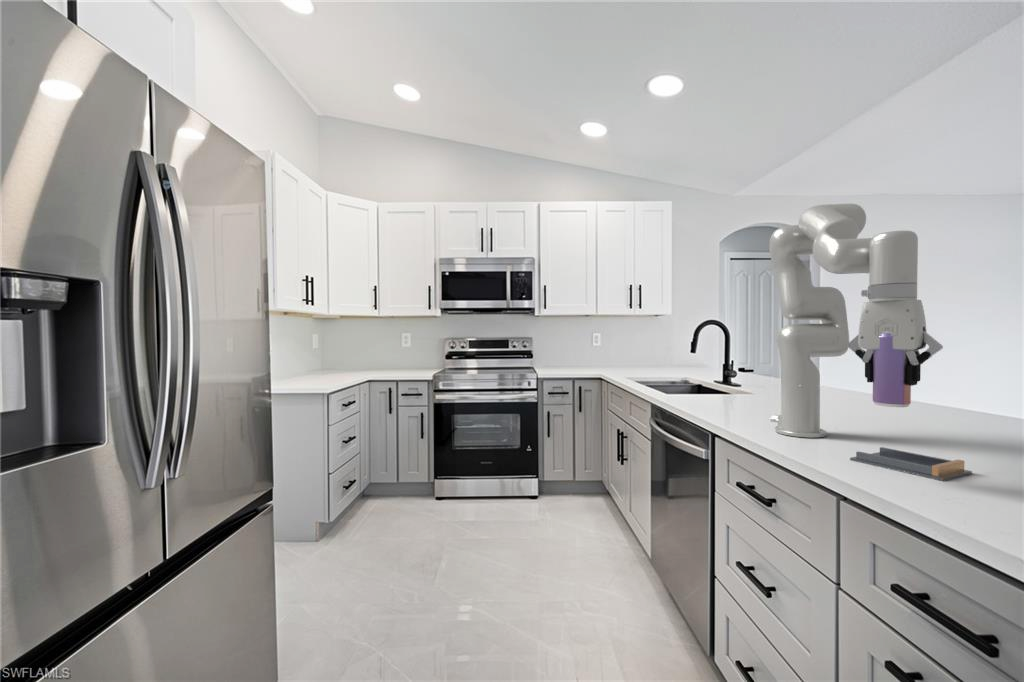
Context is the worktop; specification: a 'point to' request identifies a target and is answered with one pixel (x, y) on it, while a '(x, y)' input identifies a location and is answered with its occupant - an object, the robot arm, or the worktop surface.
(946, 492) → the worktop surface
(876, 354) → the beverage can
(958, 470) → the dock
